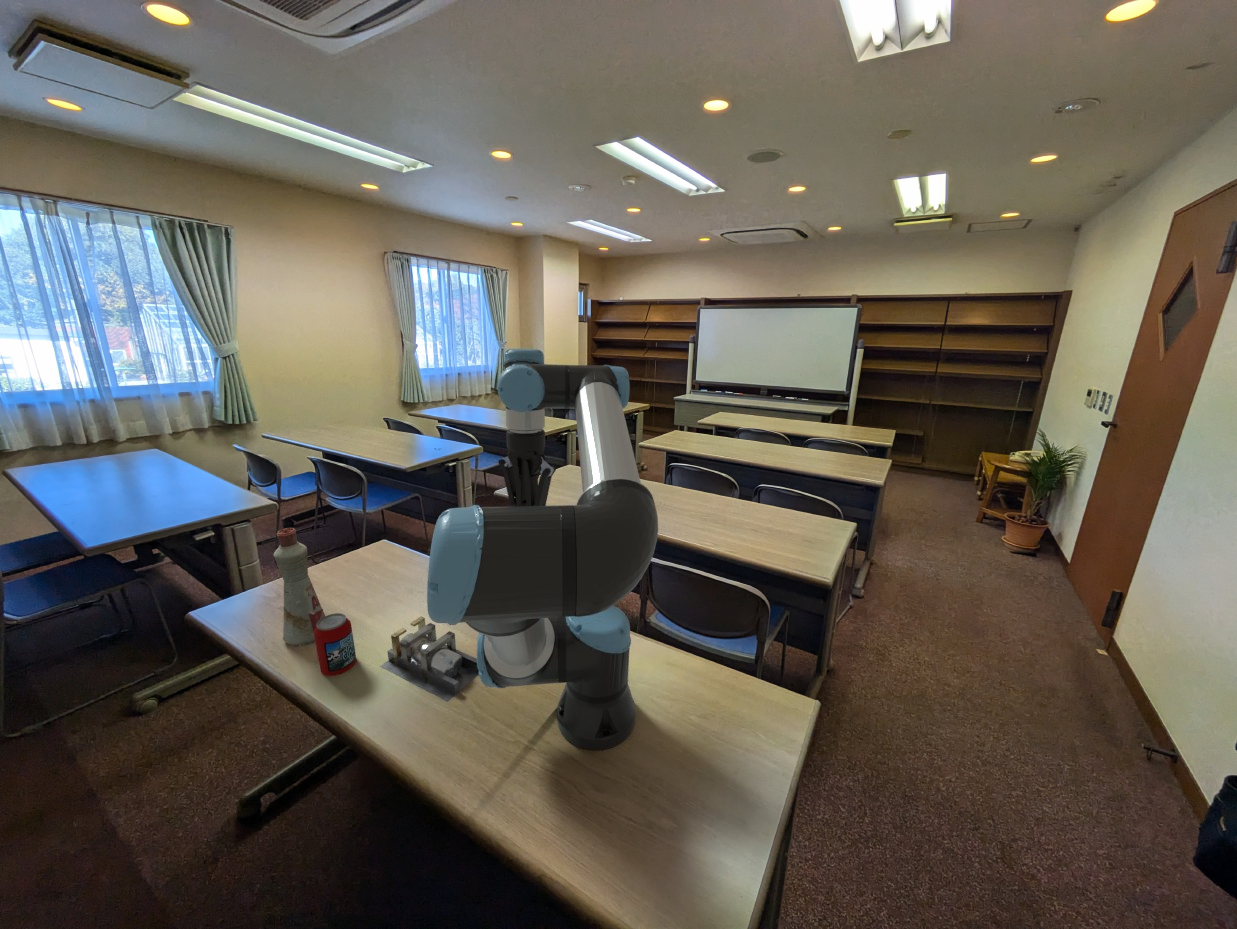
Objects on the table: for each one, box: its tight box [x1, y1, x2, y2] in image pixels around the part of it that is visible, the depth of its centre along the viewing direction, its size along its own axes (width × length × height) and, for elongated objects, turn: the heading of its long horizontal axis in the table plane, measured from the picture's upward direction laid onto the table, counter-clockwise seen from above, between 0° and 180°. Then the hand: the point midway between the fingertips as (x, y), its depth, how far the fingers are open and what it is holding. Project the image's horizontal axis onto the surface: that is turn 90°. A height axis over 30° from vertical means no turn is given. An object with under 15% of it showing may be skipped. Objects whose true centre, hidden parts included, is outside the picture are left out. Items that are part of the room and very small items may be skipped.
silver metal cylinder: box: [400, 632, 462, 678], centre depth 100 cm, size 14×5×5 cm, turn 63°
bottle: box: [273, 527, 326, 647], centre depth 106 cm, size 9×9×28 cm
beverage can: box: [314, 612, 357, 677], centre depth 98 cm, size 7×7×12 cm
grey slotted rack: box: [379, 616, 479, 702], centre depth 100 cm, size 20×12×8 cm, turn 63°
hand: (528, 538), depth 98 cm, fingers closed
